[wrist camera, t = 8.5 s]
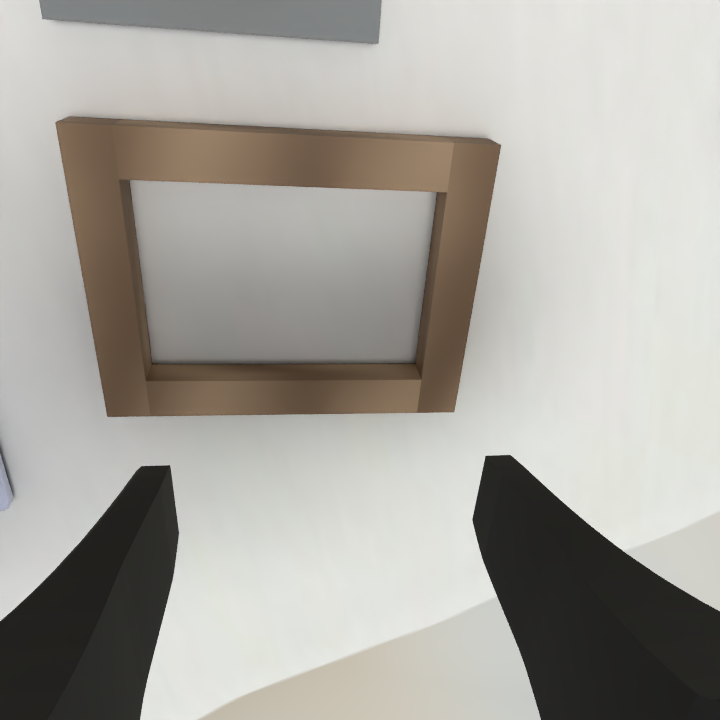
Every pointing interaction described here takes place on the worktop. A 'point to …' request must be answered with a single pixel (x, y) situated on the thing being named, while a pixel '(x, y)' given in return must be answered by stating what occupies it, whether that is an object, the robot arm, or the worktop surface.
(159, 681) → the worktop surface
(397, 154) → the walnut frame
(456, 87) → the worktop surface
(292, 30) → the slate mat
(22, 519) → the worktop surface
